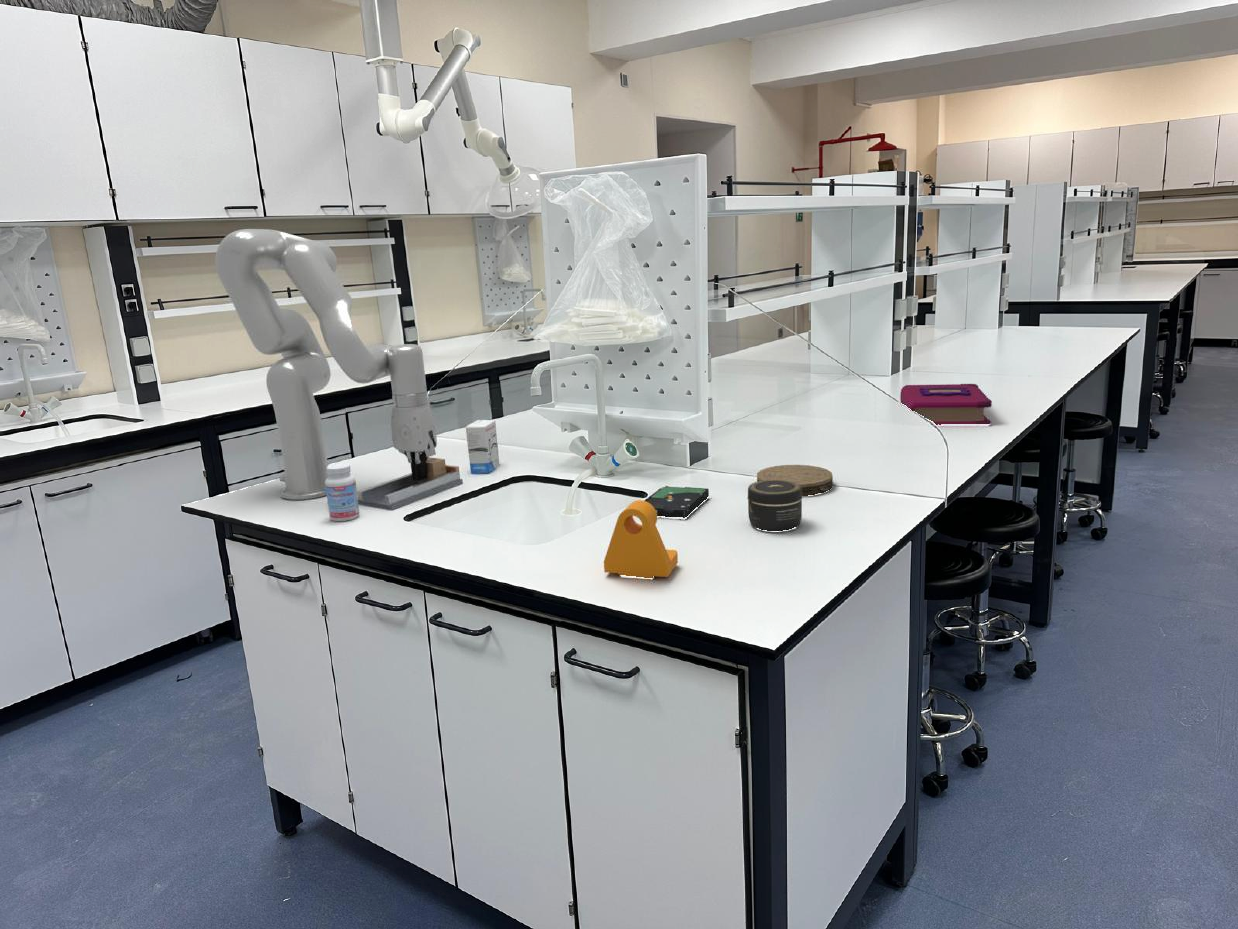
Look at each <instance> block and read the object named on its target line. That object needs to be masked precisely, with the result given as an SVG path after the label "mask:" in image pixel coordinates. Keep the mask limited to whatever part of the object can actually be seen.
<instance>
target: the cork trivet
mask: <svg viewBox="0 0 1238 929" xmlns="http://www.w3.org/2000/svg"><path fill="white" fill-rule="evenodd" d="M833 479H834V478H833V473H832V472H831V471H830V470H828V468H827V469H826V468H824V467H820V466H814V465H809V464H808V465H806V464H805V465H804V464H783V465H775V466H770V467H766V468H763V469H761V470H759V471H758V472H756V482H758V481H763V480H787V481H792V482H795V483H798V484H799V485H800V486H801V488H802V496H808V495H815V494H818V493H824V492H826V491H828V490H830V489H831V488H832V489H833V487H834V486H833V484H834V483H833ZM832 486H833V487H832ZM832 489H831V490H832ZM831 490H830V491H831ZM826 493H827V492H826ZM824 494H825V493H824Z"/></svg>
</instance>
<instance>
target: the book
mask: <svg viewBox="0 0 1238 929" xmlns="http://www.w3.org/2000/svg"><path fill="white" fill-rule="evenodd" d="M899 396H900V404H901V403H902V404H904V405H906V406H907V407H908V408H910V409H911V410H912V411H915V412H917V413H918V414H920V415H922V416H924V418H927V419H929V420H931V421H933V422H934V423H935V424H936V425H938V424H939V425H941V424H990V423H991V424H992V421H991V419H988V418H987V416H986V415H985V414H984V409H985V408H986V409H987V408H992V405H993V404H992V400H991V399H990V398H988V396H987V395H986V394H985V393H984V392H983V390H982V389H980V388H979V385H978V384H977V383H960V384H959V383H956V384H954V383H953V384H950V383H949V384H947V383H946V384H905V385H904V386H902V388H901V390H900V394H899Z"/></svg>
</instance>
